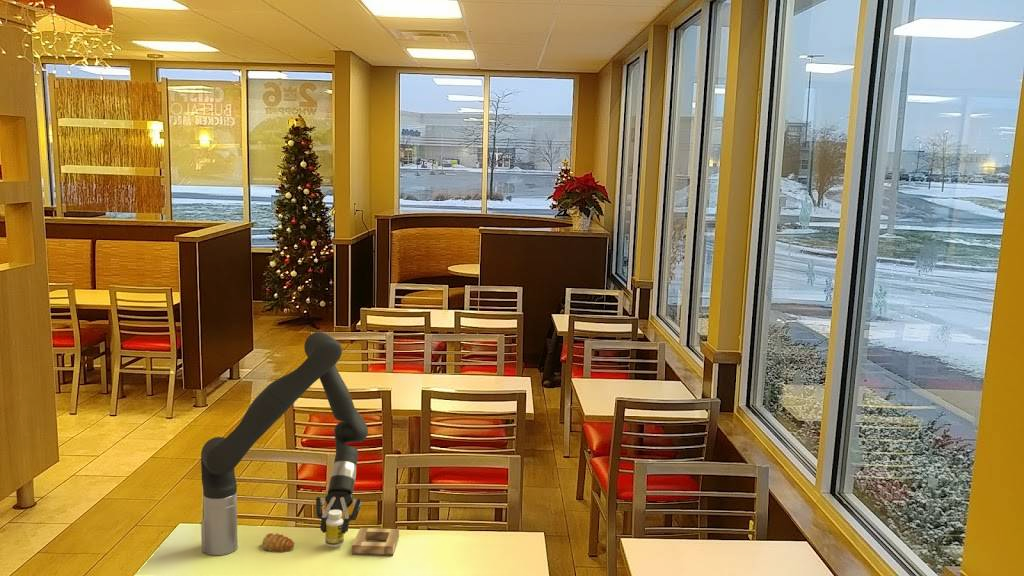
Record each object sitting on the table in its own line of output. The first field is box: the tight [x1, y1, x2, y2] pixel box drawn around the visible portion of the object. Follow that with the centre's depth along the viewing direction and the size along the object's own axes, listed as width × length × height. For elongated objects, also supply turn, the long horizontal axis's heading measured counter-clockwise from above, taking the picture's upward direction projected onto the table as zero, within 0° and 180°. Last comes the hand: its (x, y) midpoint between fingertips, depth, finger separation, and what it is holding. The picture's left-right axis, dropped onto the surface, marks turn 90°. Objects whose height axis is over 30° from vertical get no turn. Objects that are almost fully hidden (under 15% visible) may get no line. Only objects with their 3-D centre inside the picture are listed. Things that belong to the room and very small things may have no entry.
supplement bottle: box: [324, 510, 345, 548], centre depth 240 cm, size 5×5×10 cm
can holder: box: [351, 527, 400, 557], centre depth 241 cm, size 12×12×3 cm
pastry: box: [261, 532, 296, 553], centre depth 238 cm, size 9×7×4 cm
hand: (333, 532), depth 238 cm, fingers closed on supplement bottle, 5 cm apart
